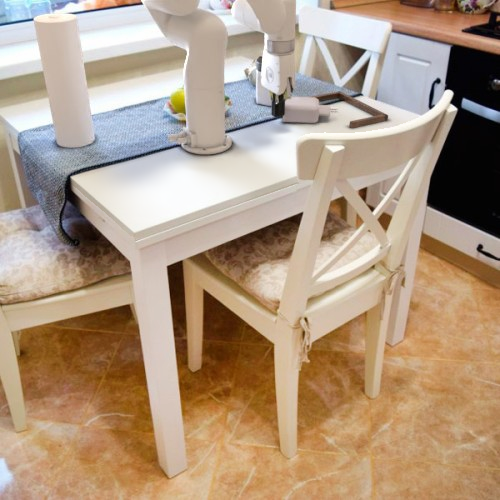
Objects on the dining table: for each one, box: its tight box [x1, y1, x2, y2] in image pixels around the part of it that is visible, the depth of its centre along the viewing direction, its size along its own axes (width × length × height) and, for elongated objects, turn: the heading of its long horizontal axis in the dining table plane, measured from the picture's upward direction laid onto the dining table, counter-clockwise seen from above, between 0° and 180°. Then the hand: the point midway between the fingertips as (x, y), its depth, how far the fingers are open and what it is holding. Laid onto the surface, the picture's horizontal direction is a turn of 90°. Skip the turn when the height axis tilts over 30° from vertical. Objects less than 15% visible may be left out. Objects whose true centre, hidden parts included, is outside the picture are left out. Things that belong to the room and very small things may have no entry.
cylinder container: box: [33, 12, 96, 149], centre depth 141 cm, size 9×9×30 cm
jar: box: [255, 56, 272, 107], centre depth 171 cm, size 9×8×12 cm
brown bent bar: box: [311, 90, 389, 129], centre depth 167 cm, size 12×22×2 cm, turn 29°
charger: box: [282, 96, 339, 124], centre depth 162 cm, size 5×9×15 cm
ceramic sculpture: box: [243, 55, 263, 88], centre depth 186 cm, size 11×9×15 cm
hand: (278, 115), depth 157 cm, fingers closed
